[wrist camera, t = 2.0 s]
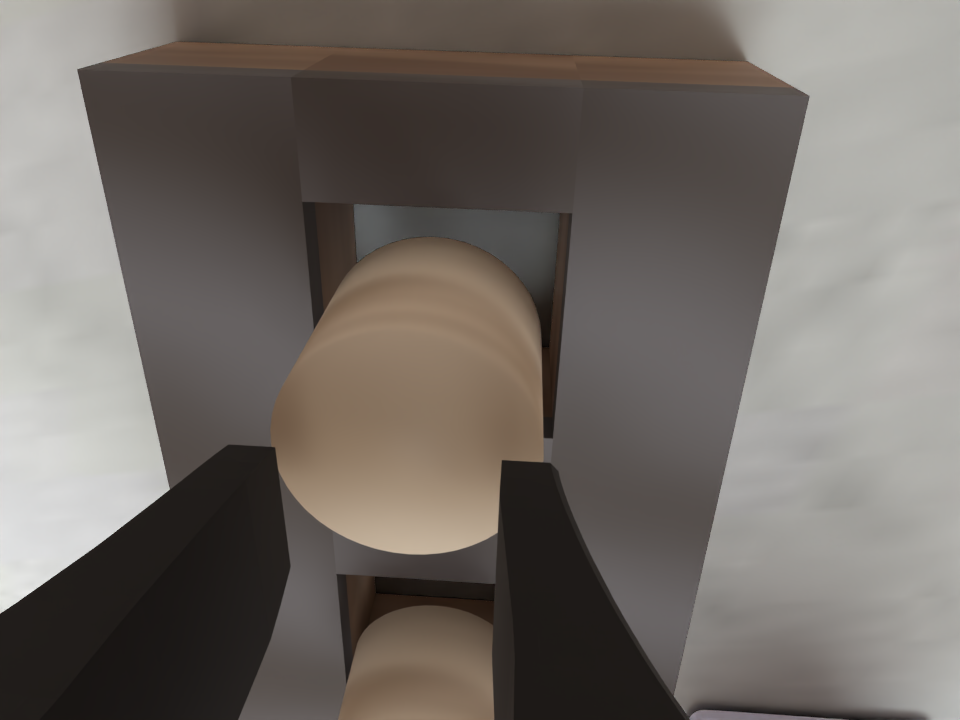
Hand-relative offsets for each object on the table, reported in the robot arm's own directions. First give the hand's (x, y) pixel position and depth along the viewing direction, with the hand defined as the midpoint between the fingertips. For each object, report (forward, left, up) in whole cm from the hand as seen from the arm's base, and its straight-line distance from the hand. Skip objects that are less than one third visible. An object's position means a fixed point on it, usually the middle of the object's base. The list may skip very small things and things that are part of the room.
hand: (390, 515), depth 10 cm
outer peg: (0, 0, -5) cm, 5 cm away
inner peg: (-9, 0, -5) cm, 10 cm away
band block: (-4, 0, -9) cm, 10 cm away
